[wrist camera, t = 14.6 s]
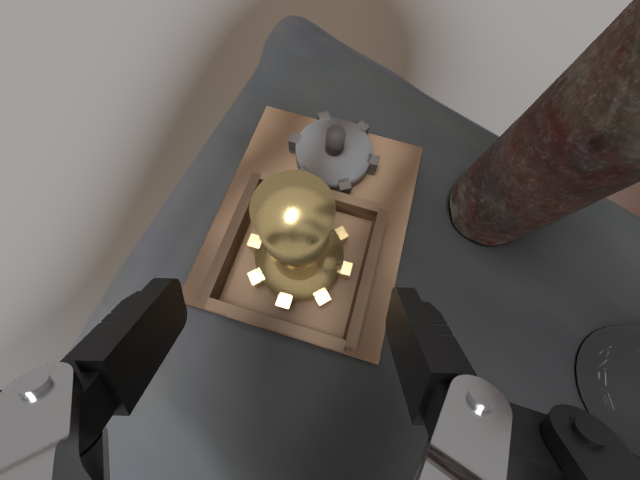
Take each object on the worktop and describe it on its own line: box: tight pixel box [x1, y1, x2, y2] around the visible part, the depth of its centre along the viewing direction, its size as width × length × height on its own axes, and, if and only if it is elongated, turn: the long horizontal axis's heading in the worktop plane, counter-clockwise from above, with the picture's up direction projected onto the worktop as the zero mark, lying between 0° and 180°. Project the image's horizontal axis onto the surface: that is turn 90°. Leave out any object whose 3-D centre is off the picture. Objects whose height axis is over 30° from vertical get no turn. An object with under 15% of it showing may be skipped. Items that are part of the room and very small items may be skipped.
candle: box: [450, 0, 640, 245], centre depth 16 cm, size 8×7×20 cm
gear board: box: [182, 106, 423, 365], centre depth 22 cm, size 16×20×5 cm
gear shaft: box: [247, 170, 353, 310], centre depth 17 cm, size 8×8×10 cm
